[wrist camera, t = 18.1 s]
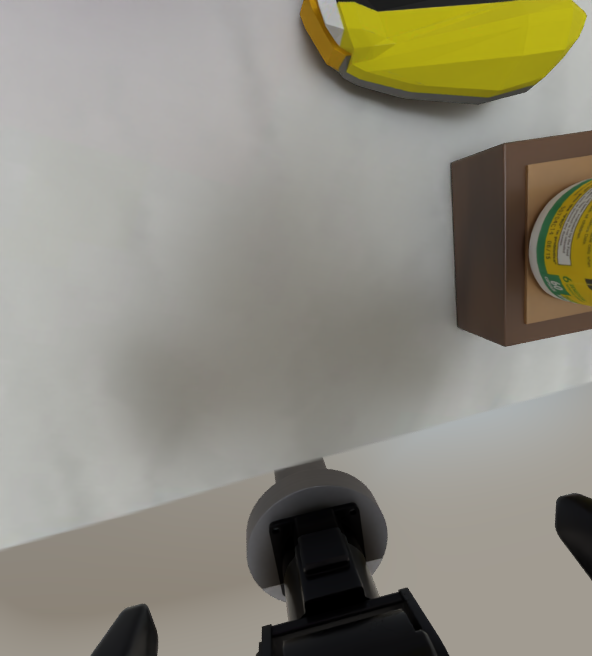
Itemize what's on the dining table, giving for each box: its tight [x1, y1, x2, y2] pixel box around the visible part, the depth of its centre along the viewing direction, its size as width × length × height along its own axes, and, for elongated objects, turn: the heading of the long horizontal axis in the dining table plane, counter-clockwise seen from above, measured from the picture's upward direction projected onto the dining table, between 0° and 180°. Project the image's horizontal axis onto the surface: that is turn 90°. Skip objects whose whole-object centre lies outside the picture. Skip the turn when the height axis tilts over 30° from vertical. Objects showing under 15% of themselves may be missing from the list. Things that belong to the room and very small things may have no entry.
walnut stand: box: [451, 130, 592, 347], centre depth 18 cm, size 9×7×4 cm
